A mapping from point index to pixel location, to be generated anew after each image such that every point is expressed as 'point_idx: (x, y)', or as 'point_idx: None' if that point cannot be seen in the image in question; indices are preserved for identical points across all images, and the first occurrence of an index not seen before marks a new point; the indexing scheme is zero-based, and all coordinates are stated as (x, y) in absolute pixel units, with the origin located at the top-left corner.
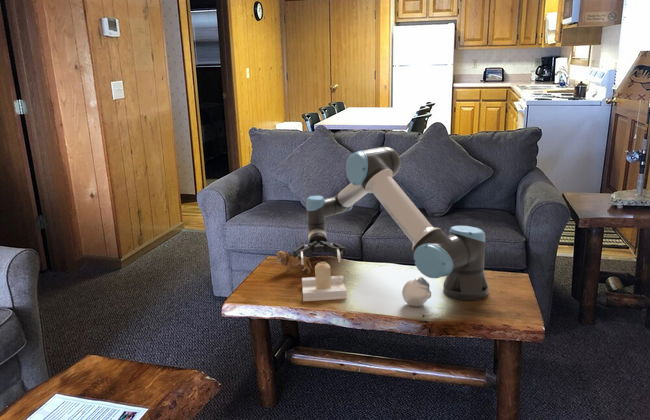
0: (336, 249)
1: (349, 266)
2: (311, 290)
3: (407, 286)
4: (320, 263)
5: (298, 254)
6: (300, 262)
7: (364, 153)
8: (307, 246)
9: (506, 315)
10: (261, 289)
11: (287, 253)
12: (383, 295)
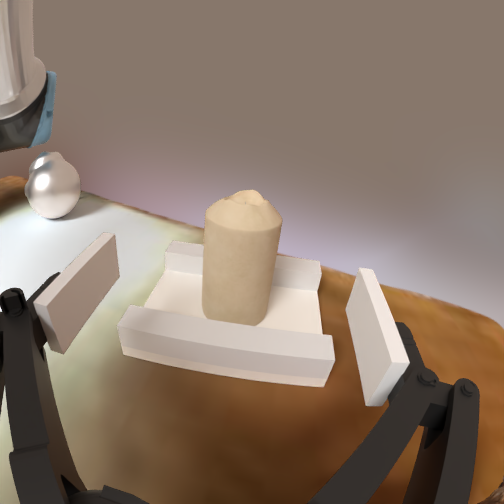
0: (33, 338)
1: None
2: (289, 266)
3: (71, 167)
4: (253, 208)
5: (414, 351)
6: None
7: None
8: None
9: (3, 186)
10: (472, 376)
11: None
12: (72, 252)
